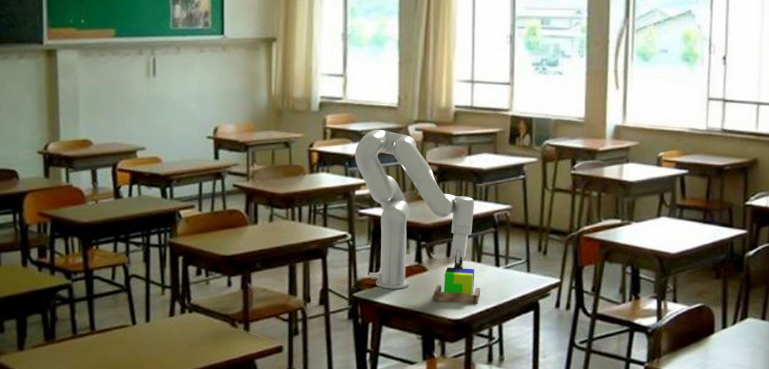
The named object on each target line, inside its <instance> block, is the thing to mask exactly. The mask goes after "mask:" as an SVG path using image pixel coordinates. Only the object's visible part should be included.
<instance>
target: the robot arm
mask: <svg viewBox="0 0 769 369" xmlns="http://www.w3.org/2000/svg"><path fill="white" fill-rule="evenodd" d="M354 152H355V155H354V157H355V159H354V160H355V163H356V166H357V167H358V171H359V172H360V174H361V176H362V178H363V181H364V183H365V185H366V187H367V189H368V191H369V194H370V197H372V199H373V200H374V202H377V203H379V204H380V206H381V207H382V209H383V210H382V212H381V217H380V230H381V233H380V234H381V236H380V237H381V239H380V245H381V246H380V247H381V248H380V272H377V273H375V272H369V275H368V277H369V278H370V279H371V280H376V281H375V285H376V286H377V287H380V288H384V289H391V290H392V289H393V290H394V289H395V290H396V289H398V290H399V289H405V288H407V287H409V285H410V282H409V280H407V279H406V263H407V262H406V261H407V259H406V258H407V221H408V219H409V218H410V212H411V211H410V207H409V204H408V202H407V200H406V198H405V196H404V194H403V193H402V192H403V191H402V190H401V188H400V186H399V184H398V182H397V181H396V180H395V179H394V177H392V176H391V175H388V174H387V173H386V171H385V169H384V166H383V165H382V163H381V161H380V160H379V157H378V156H379V154H380V153H384V154H388V155H393V156H394V158H395V159H396V160H397V162H398V163H399V165H400V166H401V167H402V169H403V170H404V172H405V173H406V174H407V175H408V176H409V178H410V180H411V182H412V183H413V185H414V186H415V189H417V191H418V193H419V195H420V196H421V198H422V199H423V201H424V203H425V204H426V205H427V207H428V208H429V209H430V211H431V212H432V213H433V215H435V216H436V217H439V218H445V217H448V216H449V215H451V214H452V223H451V233H452V234H453V238H452V246H451V256H450V259H451V260H452V261H453V260H454V266H453V268H464V266H463V264H464V260H465V258H466V253H467V249H468V248H467V247H468V239H469V236H470V235H472V229H473V218H474V209H475V206H474V205H475V201H474V200H475V199H473V198H472V197H471V196H465V195H464V196H462V195H461V196H457V195H453V194H450V193H443V191H442V189H441V188H440V187H439V185H438V183H437V181H436V179H435V177H434V173H433V170H432V167H431V166H430V165H429V163H428V162H427V161H426V159H425V158H424V156H423V155H422V154H421V152H420V151H419V150H418V147H417V142H416V141H415V139H414V138H412V137H411V136H410V135H406V134H402V133H396V132H392V131H386V130H382V129H374V130H371V131H369V132H368V133H366V134H365V135H364V136H363V137H362V138H361V139H360V140H359V142H358V143H357V146H356V148H355V151H354Z"/></svg>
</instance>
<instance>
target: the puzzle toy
mask: <svg viewBox="0 0 769 369" xmlns="http://www.w3.org/2000/svg"><path fill="white" fill-rule="evenodd" d="M474 282H475V269H474V268H464V267H463V268H454V267H447V268H446V270H445V271H444V285H443V286H444V288H443V292H448V293H463V294H474V286H475V285H474V284H475V283H474Z"/></svg>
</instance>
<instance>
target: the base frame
mask: <svg viewBox="0 0 769 369" xmlns="http://www.w3.org/2000/svg"><path fill="white" fill-rule="evenodd" d="M480 296H481V287H475V290H474V292H473V294H463V293H448V292H444V291H443V292H442V285H441V284H437V285H436V287H435V289H434V292H433V301H435V302H449V303H464V304H479V299H480Z"/></svg>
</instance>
